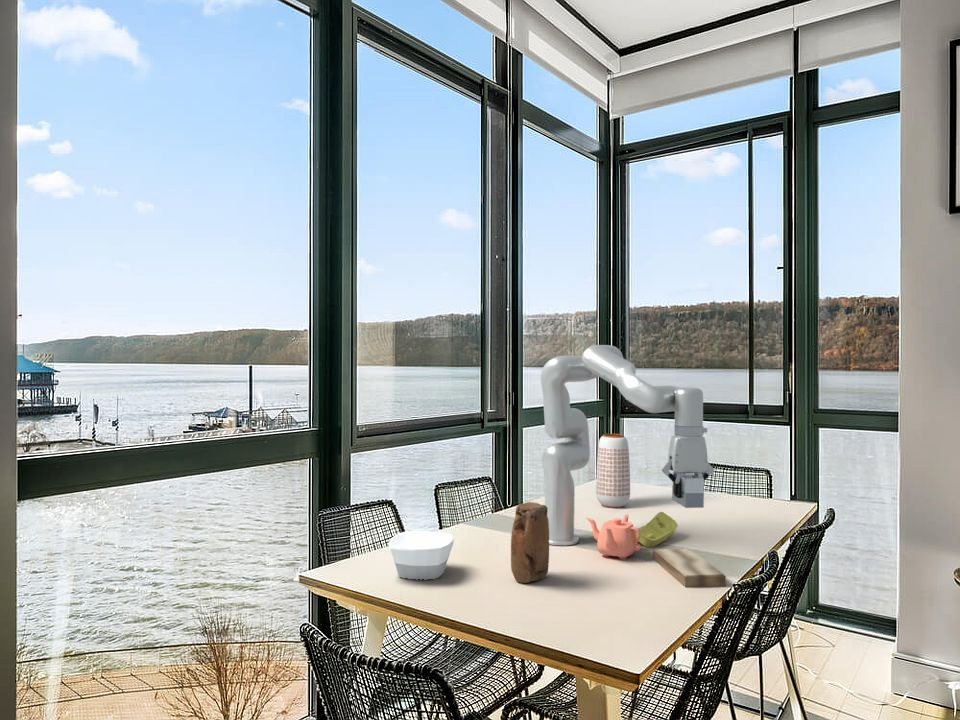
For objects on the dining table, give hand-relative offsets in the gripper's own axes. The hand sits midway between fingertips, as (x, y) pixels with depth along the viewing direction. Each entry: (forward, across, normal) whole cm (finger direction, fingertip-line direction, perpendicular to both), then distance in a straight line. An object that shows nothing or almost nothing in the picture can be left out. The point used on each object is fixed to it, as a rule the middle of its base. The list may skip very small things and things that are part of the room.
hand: (687, 496), depth 194 cm
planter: (+22, -3, -82) cm, 85 cm away
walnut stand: (+21, 0, 0) cm, 21 cm away
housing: (+2, 0, 0) cm, 2 cm away
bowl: (+22, +74, -5) cm, 77 cm away
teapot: (+22, +16, -18) cm, 32 cm away
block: (+22, +45, +2) cm, 50 cm away
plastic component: (+22, -2, -33) cm, 39 cm away
